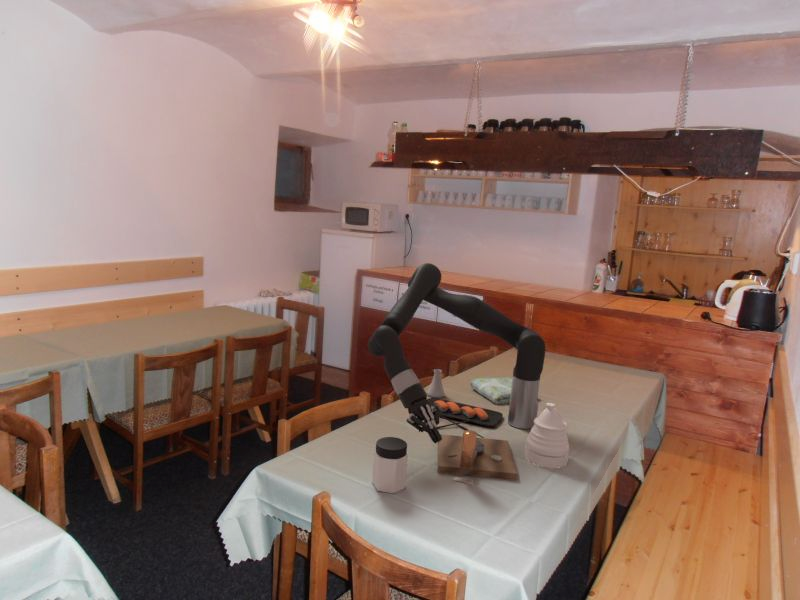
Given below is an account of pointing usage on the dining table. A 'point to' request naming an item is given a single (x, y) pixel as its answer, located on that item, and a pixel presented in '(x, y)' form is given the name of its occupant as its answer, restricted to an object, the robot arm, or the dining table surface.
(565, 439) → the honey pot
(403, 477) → the jar
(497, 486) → the dining table surface
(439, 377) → the flask
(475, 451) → the lever
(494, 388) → the towel
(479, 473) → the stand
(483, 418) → the sushi plate
